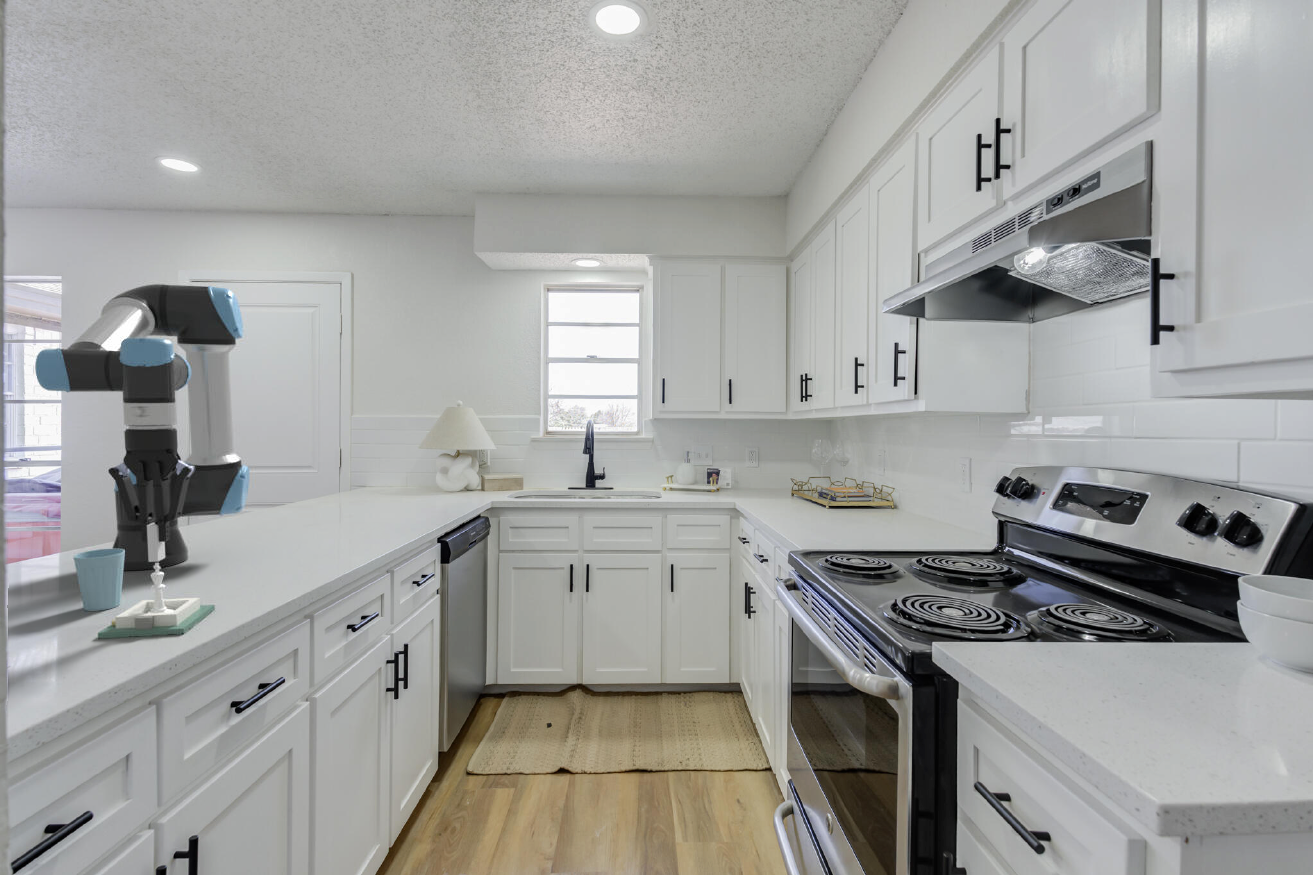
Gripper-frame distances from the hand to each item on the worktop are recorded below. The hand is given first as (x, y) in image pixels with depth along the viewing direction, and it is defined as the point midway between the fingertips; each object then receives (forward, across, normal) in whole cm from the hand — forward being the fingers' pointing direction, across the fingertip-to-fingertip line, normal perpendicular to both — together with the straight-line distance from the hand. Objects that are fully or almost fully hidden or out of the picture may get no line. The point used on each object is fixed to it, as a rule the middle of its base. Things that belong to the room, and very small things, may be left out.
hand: (157, 559), depth 126 cm
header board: (+12, 0, 0) cm, 12 cm away
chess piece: (+11, 0, 0) cm, 11 cm away
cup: (+12, -15, +12) cm, 23 cm away
